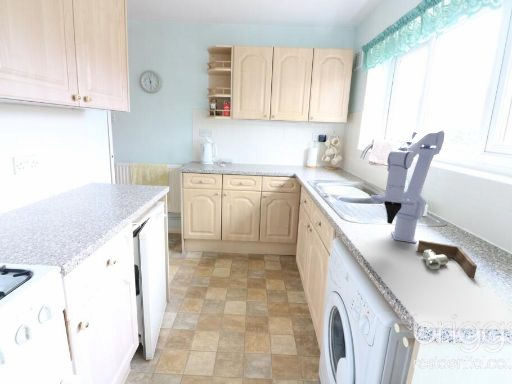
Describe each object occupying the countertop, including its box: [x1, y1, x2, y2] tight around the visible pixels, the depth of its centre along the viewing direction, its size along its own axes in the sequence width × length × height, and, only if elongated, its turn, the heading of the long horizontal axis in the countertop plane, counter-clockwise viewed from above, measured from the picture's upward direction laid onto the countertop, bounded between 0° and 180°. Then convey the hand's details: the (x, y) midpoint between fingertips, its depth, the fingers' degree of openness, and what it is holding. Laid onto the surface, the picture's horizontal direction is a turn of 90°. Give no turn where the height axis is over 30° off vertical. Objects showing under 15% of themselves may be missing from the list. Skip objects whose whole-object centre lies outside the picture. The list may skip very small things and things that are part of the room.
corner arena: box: [416, 239, 478, 279], centre depth 94 cm, size 16×13×4 cm
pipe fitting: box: [422, 249, 449, 270], centre depth 93 cm, size 8×4×7 cm
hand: (389, 222), depth 102 cm, fingers closed
